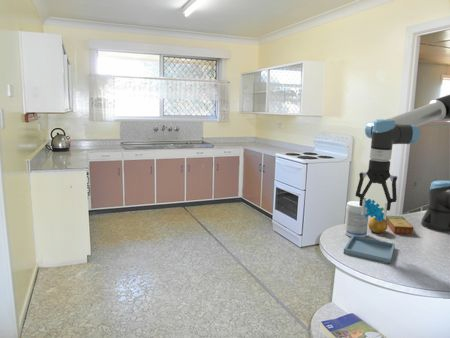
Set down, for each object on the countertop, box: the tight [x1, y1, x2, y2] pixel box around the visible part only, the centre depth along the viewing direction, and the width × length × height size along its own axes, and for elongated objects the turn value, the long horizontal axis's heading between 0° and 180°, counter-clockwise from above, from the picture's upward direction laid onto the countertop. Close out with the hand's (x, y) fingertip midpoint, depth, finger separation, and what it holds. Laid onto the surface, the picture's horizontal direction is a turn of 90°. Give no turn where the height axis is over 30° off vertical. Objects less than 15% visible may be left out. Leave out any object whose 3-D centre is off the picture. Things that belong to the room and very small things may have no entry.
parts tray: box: [343, 235, 396, 265], centre depth 145 cm, size 17×17×2 cm
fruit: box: [367, 216, 388, 234], centre depth 166 cm, size 8×8×8 cm
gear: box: [364, 198, 385, 222], centre depth 143 cm, size 11×6×10 cm
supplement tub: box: [344, 200, 369, 238], centre depth 160 cm, size 10×10×15 cm
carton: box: [385, 215, 415, 236], centre depth 171 cm, size 8×16×4 cm, turn 170°
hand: (373, 215), depth 142 cm, fingers closed on gear, 7 cm apart
